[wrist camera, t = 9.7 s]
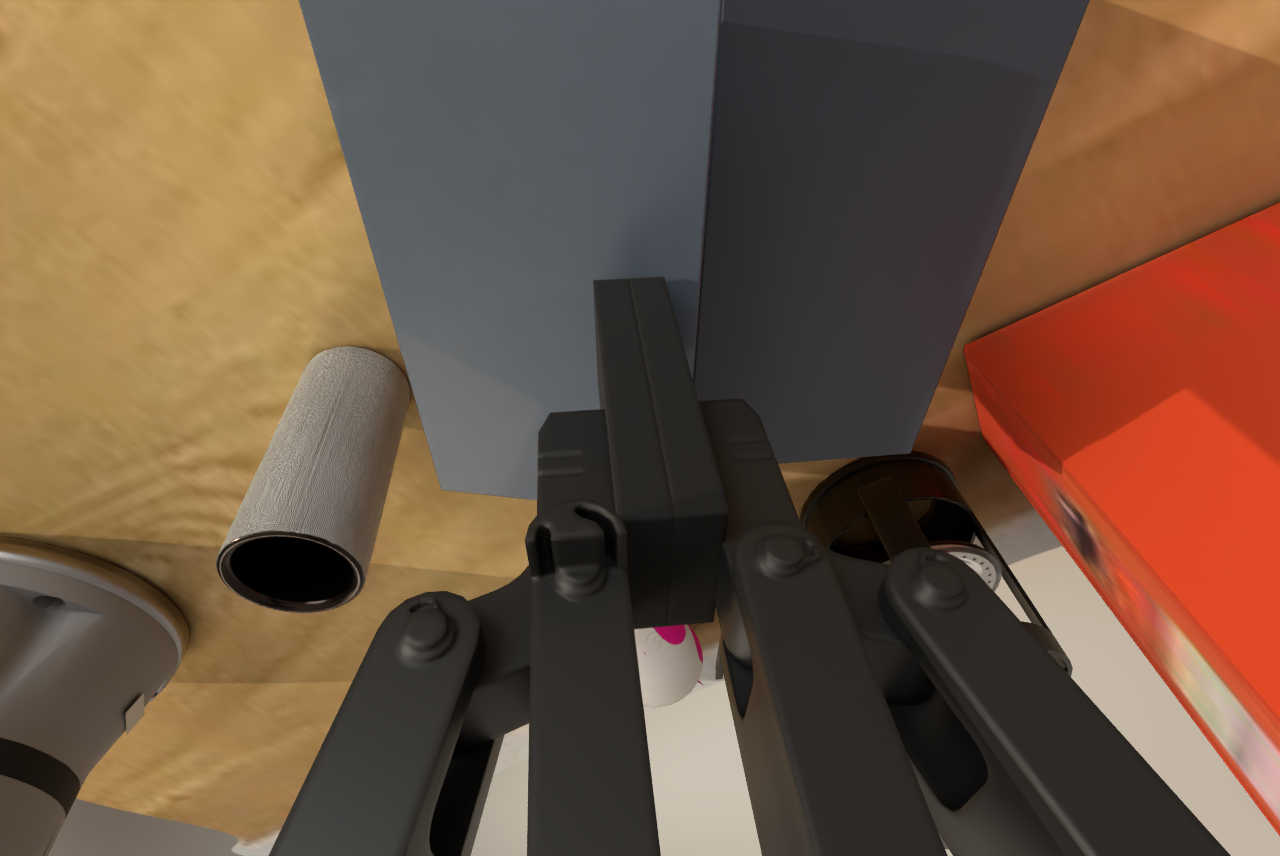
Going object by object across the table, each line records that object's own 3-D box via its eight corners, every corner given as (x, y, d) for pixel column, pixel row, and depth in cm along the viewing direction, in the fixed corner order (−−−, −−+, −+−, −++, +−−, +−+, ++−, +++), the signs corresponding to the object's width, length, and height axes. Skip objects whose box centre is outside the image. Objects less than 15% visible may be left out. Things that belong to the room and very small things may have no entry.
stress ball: (691, 587, 48) (753, 634, 43) (629, 679, 47) (685, 738, 42) (630, 546, 44) (692, 592, 38) (560, 646, 43) (614, 708, 37)
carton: (469, 312, 27) (440, 491, 20) (392, -79, 19) (286, -32, 11) (813, 293, 29) (912, 454, 21) (891, -79, 20) (1109, -37, 12)
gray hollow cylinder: (280, 362, 28) (181, 556, 20) (375, 331, 27) (310, 516, 20) (343, 435, 31) (276, 626, 23) (429, 407, 30) (391, 594, 23)
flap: (445, 480, 20) (440, 490, 20) (301, -31, 11) (289, -28, 11) (683, 506, 19) (682, 517, 19) (723, -19, 11) (723, -16, 10)
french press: (963, 526, 41) (1257, 997, 24) (823, 576, 43) (1005, 1043, 26) (937, 406, 34) (1336, 961, 17) (770, 473, 36) (976, 1030, 19)
